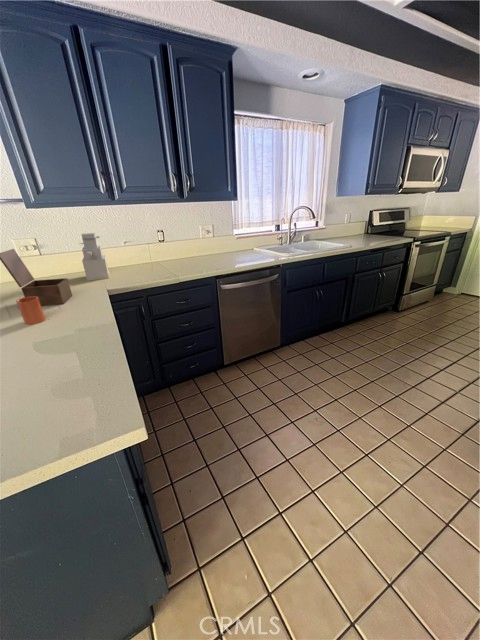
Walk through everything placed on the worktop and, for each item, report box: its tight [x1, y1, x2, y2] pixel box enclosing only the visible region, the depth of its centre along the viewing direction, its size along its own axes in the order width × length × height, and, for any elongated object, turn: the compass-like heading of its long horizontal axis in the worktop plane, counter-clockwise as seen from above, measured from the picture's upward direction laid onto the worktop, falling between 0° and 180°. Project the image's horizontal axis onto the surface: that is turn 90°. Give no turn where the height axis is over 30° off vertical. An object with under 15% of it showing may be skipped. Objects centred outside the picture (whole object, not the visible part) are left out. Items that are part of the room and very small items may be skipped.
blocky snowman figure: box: [79, 232, 110, 282], centre depth 173 cm, size 13×24×28 cm, turn 24°
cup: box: [15, 296, 47, 326], centre depth 112 cm, size 7×7×10 cm
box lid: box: [0, 248, 35, 288], centre depth 127 cm, size 16×14×1 cm
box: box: [20, 277, 73, 307], centre depth 135 cm, size 16×14×10 cm
